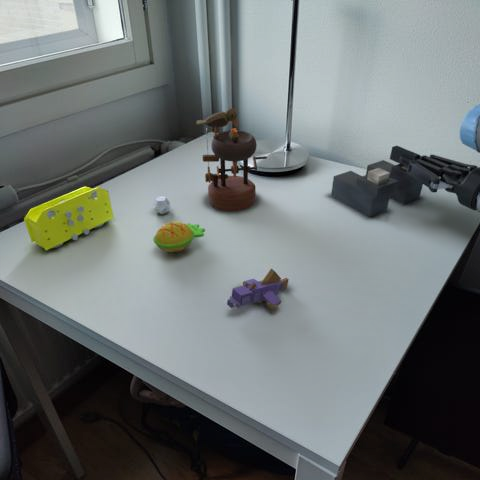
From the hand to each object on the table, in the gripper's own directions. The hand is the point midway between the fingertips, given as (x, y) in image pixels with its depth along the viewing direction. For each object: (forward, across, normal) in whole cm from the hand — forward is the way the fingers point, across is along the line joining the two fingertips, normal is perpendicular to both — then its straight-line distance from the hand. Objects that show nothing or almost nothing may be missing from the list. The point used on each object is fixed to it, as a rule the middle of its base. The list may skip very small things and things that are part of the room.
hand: (393, 152), depth 102 cm
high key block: (-2, -10, -9) cm, 14 cm away
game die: (+19, -48, -10) cm, 52 cm away
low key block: (-2, 0, -8) cm, 9 cm away
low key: (-6, 0, -4) cm, 7 cm away
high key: (-6, -10, -2) cm, 12 cm away
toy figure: (-18, -48, -10) cm, 52 cm away
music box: (+15, -32, -9) cm, 36 cm away
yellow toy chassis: (+21, -66, -10) cm, 70 cm away
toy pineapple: (+4, -51, -10) cm, 52 cm away
